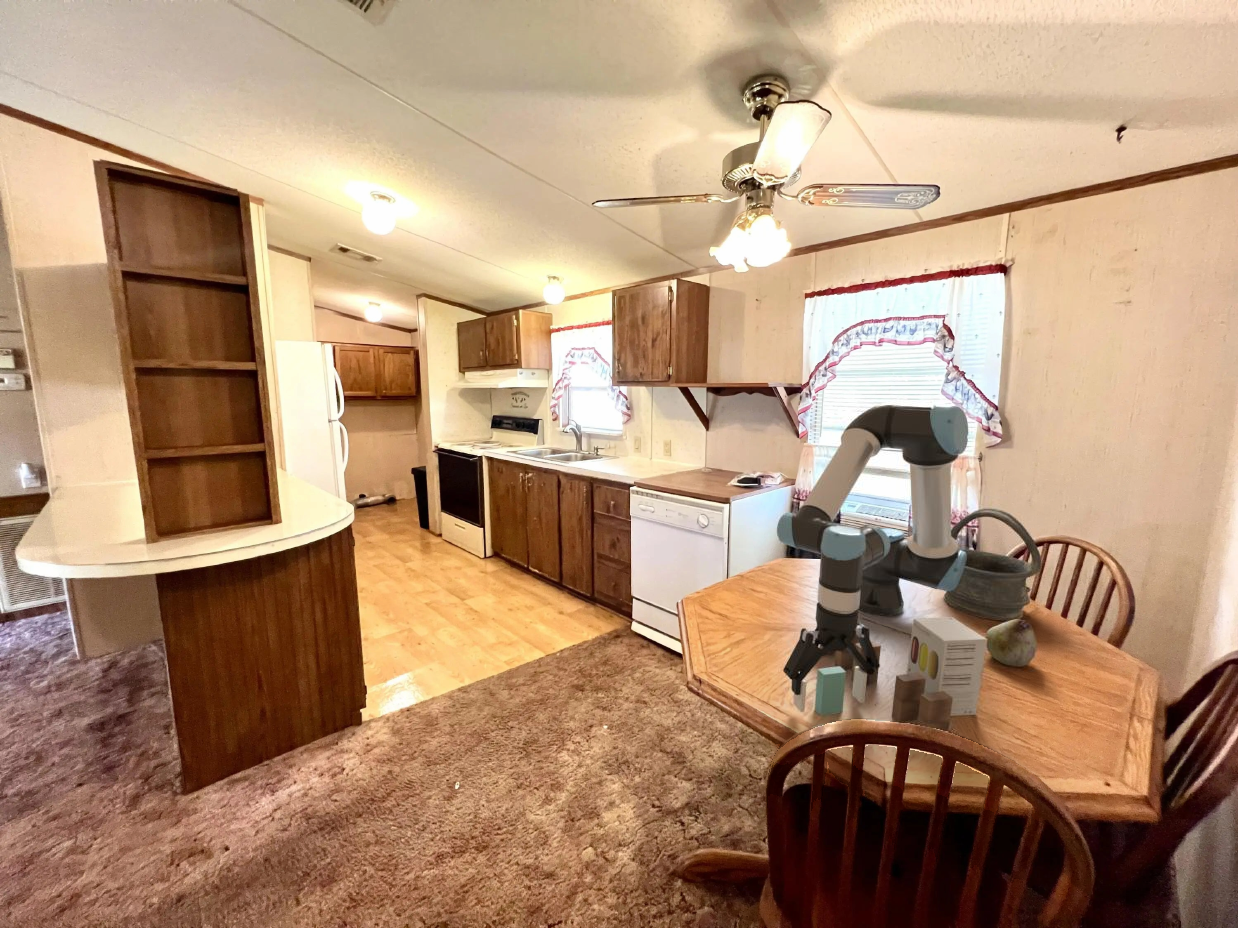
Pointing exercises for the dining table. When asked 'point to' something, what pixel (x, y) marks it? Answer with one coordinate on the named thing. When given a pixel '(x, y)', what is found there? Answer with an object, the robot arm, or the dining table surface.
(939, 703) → the domino
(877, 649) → the domino
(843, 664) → the domino
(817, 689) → the teal domino
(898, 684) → the domino
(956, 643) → the supplement box
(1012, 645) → the fruit
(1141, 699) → the dining table surface
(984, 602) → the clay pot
